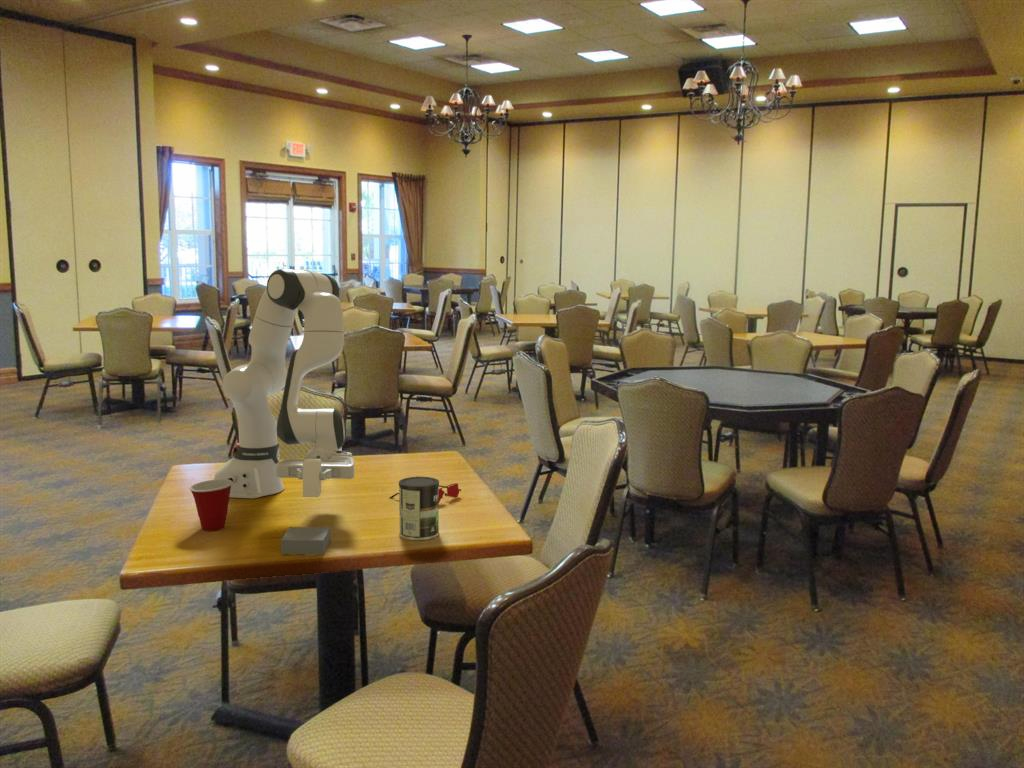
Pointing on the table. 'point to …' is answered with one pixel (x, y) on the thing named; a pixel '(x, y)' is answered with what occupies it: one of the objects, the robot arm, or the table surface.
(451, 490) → the glasses
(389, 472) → the table surface
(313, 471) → the cream block
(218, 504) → the plastic cup
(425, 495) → the coffee can
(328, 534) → the gray square block
